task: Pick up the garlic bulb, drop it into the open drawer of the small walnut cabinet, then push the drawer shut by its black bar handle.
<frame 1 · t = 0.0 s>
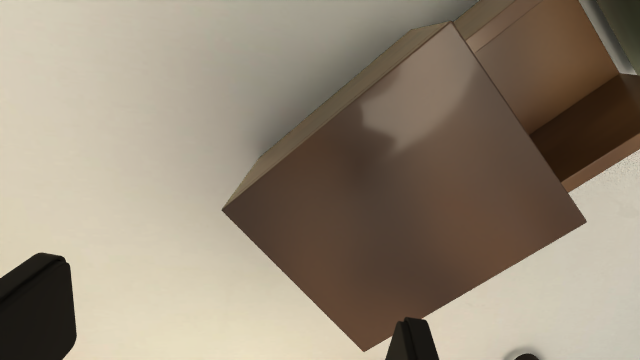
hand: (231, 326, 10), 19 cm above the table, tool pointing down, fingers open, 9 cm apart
drawer: (584, 42, 20), point 5 cm above the table, slide at 9.5 cm
cabinet: (381, 161, 28), on the table
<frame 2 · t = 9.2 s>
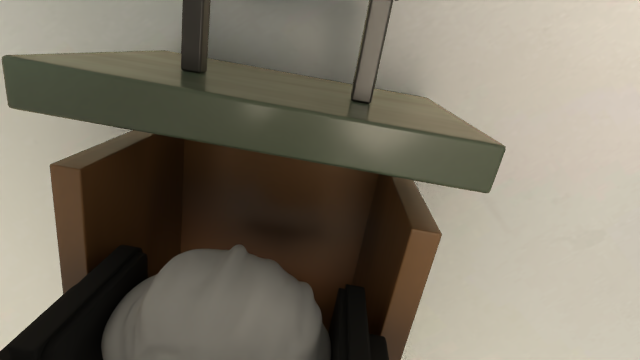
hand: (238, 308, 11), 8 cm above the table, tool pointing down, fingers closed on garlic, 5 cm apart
drawer: (265, 211, 13), point 5 cm above the table, slide at 9.5 cm, touching gripper
garlic: (249, 290, 12), point 7 cm above the table, touching gripper
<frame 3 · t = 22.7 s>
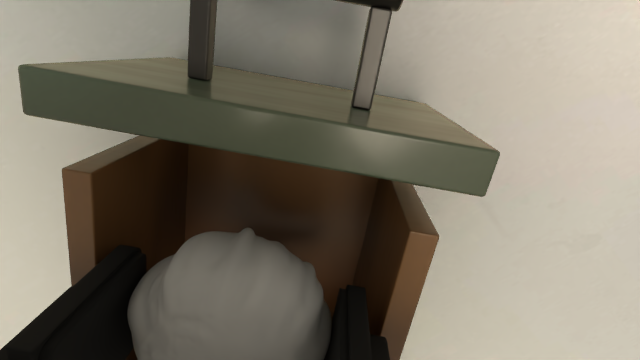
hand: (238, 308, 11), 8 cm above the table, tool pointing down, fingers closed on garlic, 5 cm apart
drawer: (268, 214, 14), point 5 cm above the table, slide at 9.5 cm
garlic: (256, 270, 13), point 6 cm above the table, touching gripper
when the fingers open (9 cm above the table, at t = 23.0 s): garlic drops 5 cm, resting on drawer.
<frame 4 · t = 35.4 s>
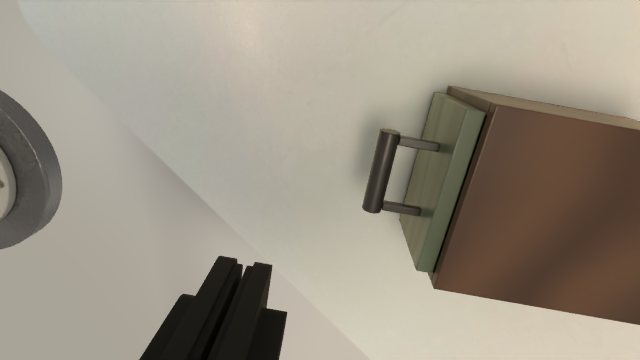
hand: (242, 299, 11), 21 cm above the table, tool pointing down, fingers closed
drawer: (487, 186, 27), point 5 cm above the table, slide at 0.0 cm, touching garlic
cabinet: (510, 174, 31), on the table
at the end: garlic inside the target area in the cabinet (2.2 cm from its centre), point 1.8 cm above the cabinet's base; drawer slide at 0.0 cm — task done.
